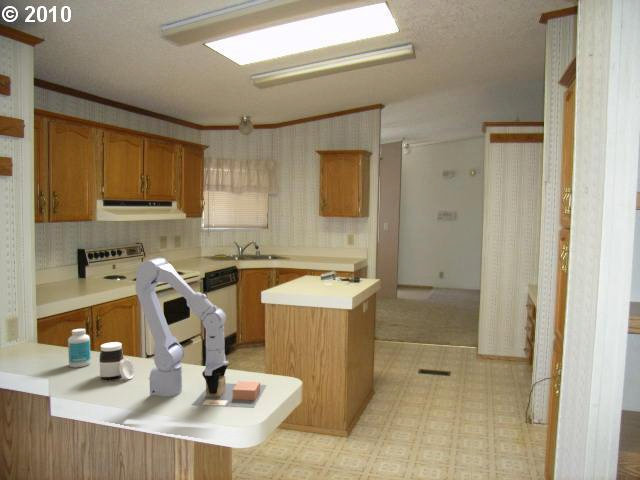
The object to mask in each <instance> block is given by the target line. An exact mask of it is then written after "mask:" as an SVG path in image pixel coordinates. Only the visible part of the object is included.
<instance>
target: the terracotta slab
mask: <svg viewBox="0 0 640 480" xmlns="http://www.w3.org/2000/svg"><path fill="white" fill-rule="evenodd" d="M235 384H236V386H235V387H234V388H233V399H243V400H255V399H256V397H257V396H258V394H259V392H260V385H261V381H239V380H238V382H237V383H235Z"/></svg>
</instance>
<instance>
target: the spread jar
mask: <svg viewBox="0 0 640 480" xmlns="http://www.w3.org/2000/svg"><path fill="white" fill-rule="evenodd" d="M122 344H123V343H121V342H118V341H114V342H113V341H111V342H106V343H102V344H101V345H100V353H99V376H100V379H101V380H103V381H106V380H107V381H108V382H109V380H110V381H115V380H119V379H124V380H126V381H127V380H130V379H132V378H133V377H134V376H135V367H134V364H133V361H131V360H129V359H127V358H126V359H124V351H123V346H122Z"/></svg>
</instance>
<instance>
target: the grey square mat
mask: <svg viewBox="0 0 640 480" xmlns="http://www.w3.org/2000/svg"><path fill="white" fill-rule="evenodd" d="M236 384H237V383H227V382H225V389H226V391H225V392H224V394H223V395H222V396H221V397H209V396H206V388H205V389H204V390H203V391H202V392H201V394H200V395H199V396H198V397H197V398H196V399H195V400H194V402H193V403H192V404H191V406H207V407H208V406H209V407H230V408H248V409H249V408H250V409H252V408H253V409H254V408H255V407H256V405H257V403H258V402H259V399H260V398H261V396H262V394H263V393H264V391H265V389H266V387H267V385H268V384H260V392H259V394H258V396H257V397H256V399H255V400H243V399H233V388H234V387H235V386H236Z"/></svg>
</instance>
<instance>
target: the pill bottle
mask: <svg viewBox="0 0 640 480" xmlns="http://www.w3.org/2000/svg"><path fill="white" fill-rule="evenodd" d="M86 331H87V330H86V328H76V329H72V330H71V334H72V335H70V337H68V339H67V347H68V348H67V349H68V366H69V367H71V368H82V367H86V366H89V365H90V364H91V361H92V360H91V359H92V358H91V338H90V335H88V334H86V333H87V332H86Z"/></svg>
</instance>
